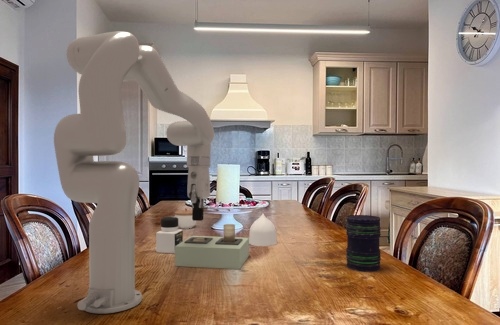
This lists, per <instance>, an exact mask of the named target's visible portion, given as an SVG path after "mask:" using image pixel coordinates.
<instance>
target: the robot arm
mask: <svg viewBox="0 0 500 325" xmlns="http://www.w3.org/2000/svg"><path fill="white" fill-rule="evenodd" d="M138 40H139V39H137V37H136V36H135V35H134V34H133V33H131V32H129V31H123V30H122V31H121V30H119V31H118V30H116V31H108V32H104V33H103V32H102V33H98V34H94V35H88V36H81V37H78V38H75V39H73V40H72V41H70V43H69V44H68V45H67V48H66V54H65V55H66V59H67V62H68V64H69V66H70V67H71V68H72V69H73V70H74V71H75V72H77V74H79V75H80V79H79V81H78V82H79V83H78V99H79V111H80V113H72V114H68V115H66V116H64V117H62V118H61V119H60V120H59V121H58V123H57V124H56V126H55V128H54V129H55V130H54V132H53V146H54V153H55V157H56V163H57V164H56V165H57V169H58V170H57V171H58V175H59V181H60V185H61V189H62V192H63V193H64V195H66V197H67V198H68V199H69V200H71V201H73V202H76V203H84V204H96V207H95V209H94V210H93V213H92V214H91V217H90V220H89V226H88V235H89V236H88V238H89V241H88V244H89V246H88V250H89V252H88V253H89V254H88V255H89V256H88V257H89V258H88V262H89V264H88V268H89V269H88V270H89V271H88V274H89V275H88V276H89V277H88V278H89V279H88V281H89V282H88V284H89V286H88V287H89V288H88V289H87V295H86V296H85V297H83V299H81V300H79V301H78V302H77V308H78V309H77V310H80V311H85V312H87V313H91V314H100V315H101V314H104V315H105V314H113V313H114V314H115V313H119V312H123V311H126V310H129V309H132V308H134V307H136V306H138V305H139V304H141V302H142V300H143V295H142V292H141V291H139V290H137V289H136V286H135V285H136V280H135V279H136V270H135V267H136V266H135V264H136V263H135V262H136V260H135V258H136V257H135V256H136V255H135V253H136V249H135V247H136V246H135V244H136V243H135V242H136V241H135V240H136V239H135V238H136V237H135V235H136V234H135V230H136V229H135V226H136V223H135V220H136V218H135V217H136V206H137V198H138V194H139V190H140V177H139V173H138V171H137V170H136V168H135V167H133V166H132V165H131V164H129V163H127V162H123V161H118V160H106V161H105V160H99V161H94V157H104V156H113V155H117V154H120V153H121V152H123V151H124V149H125V147H126V145H127V133H126V123H125V117H124V116H125V114H124V108H123V101H122V100H123V99H122V87H123V82H124V83H125V82H132V81H134V82H136V83H137V85H138V86H139V88H140V89H141V91H142V93H143V94H144V95H145V97H146V99H147V100H148V102H149V103H150V105H151V106H152V107H153V108H155V109H156V110H158V111H161V112H164V113H166V114H169V115H170V114H171V115H174V116H177V117H179V118H182V119H184V120H182V121H181V120H179V121H174V122H172V123H170V124H169V125H168V126H167V128H166V134H165V135H166V138H167V140H168V141H169V143H170V144H172V145H174V146H178V147H186V168H188V171H187V172H188V173H187V190H186V191H187V192H186V193H187V197H188V198H189V199H190V203H191V208H192V220H193V221H196V222H198V221H199V222H200V221H203V220H204V209H205V208H204V206H205V200H206V199H208V198H210V197H211V178H210V169H211V149H212V148H211V147H212V146H211V143H212V142H213V140H214V136H215V129H214V125H213V124H212V121H211V118H210V117H209V115H208V113H207V111H206V109H205V108H204V107H203V105H202V104H200V102H197V101H196V100H195V99H193V98H192V97H190V96H189V95H188V94H186V93H184V92H183V91H181V90H180V89H179V88H178V87H177V85H176V83H175V81H174V79H173V78H172V75H171V73H170V72H169V70H168V68H167V67H166V64H165V63H164V60H163V59H162V57H161V56H160V54H159V52H158V51H157V50H156V49H155V48H154V47H152V45H151V46H150V45H147V44H145V45H144V44H142V45H141V44H139V41H138Z"/></svg>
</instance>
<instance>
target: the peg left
mask: <svg viewBox="0 0 500 325" xmlns="http://www.w3.org/2000/svg"><path fill="white" fill-rule="evenodd" d="M193 241H203V242H204V241H205V239H204V238H195V239H193Z"/></svg>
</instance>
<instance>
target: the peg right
mask: <svg viewBox="0 0 500 325" xmlns="http://www.w3.org/2000/svg"><path fill="white" fill-rule="evenodd" d="M223 237H224V242H231V243H235V237H236V224H233V223H226V224H223Z"/></svg>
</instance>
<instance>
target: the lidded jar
mask: <svg viewBox="0 0 500 325" xmlns="http://www.w3.org/2000/svg"><path fill="white" fill-rule="evenodd" d="M174 217H177V218H178V228H179V229H182V230H183V229H184V230H185V229H186V230H187V229H188V230H189V228H190V229H192V228H193V227H194V226H196V223H197V221H193V220H192V210H190V209H189V210H188V208H187V207H186V208H184V210H177V211H175V212H174Z"/></svg>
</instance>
